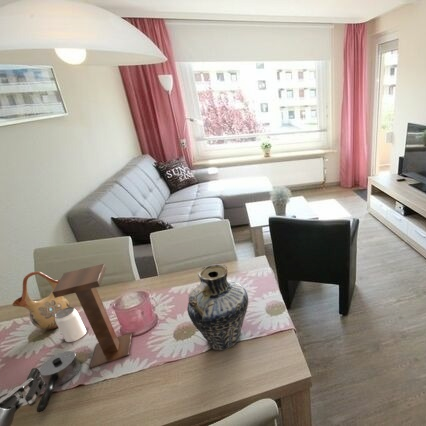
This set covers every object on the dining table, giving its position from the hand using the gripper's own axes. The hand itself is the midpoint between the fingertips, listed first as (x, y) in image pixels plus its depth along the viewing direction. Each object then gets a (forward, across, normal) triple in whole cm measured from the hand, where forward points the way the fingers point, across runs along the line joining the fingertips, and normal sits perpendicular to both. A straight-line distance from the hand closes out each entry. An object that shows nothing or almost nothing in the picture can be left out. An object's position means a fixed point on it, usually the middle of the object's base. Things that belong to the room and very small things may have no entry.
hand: (14, 377), depth 73 cm
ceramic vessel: (+48, -10, -20) cm, 53 cm away
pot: (+11, 0, -19) cm, 22 cm away
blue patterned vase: (+7, +50, -20) cm, 54 cm away
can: (+36, -1, -20) cm, 41 cm away
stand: (+21, +13, -19) cm, 31 cm away
